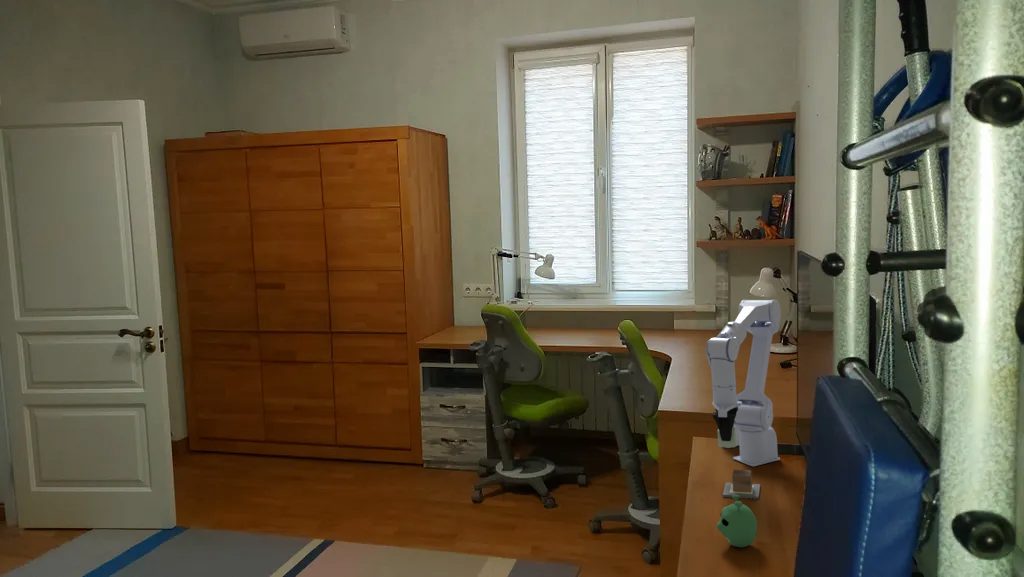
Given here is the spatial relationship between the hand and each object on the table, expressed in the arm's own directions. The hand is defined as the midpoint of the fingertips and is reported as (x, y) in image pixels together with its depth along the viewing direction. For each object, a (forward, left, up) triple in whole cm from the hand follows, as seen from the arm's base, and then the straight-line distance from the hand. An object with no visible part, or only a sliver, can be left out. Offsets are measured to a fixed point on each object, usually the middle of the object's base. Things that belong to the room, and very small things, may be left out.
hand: (727, 438), depth 176 cm
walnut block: (+4, +9, -10) cm, 14 cm away
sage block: (0, 0, -2) cm, 2 cm away
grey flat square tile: (+4, +9, -10) cm, 14 cm away
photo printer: (-20, -21, -11) cm, 30 cm away
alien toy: (+23, +30, -11) cm, 40 cm away
